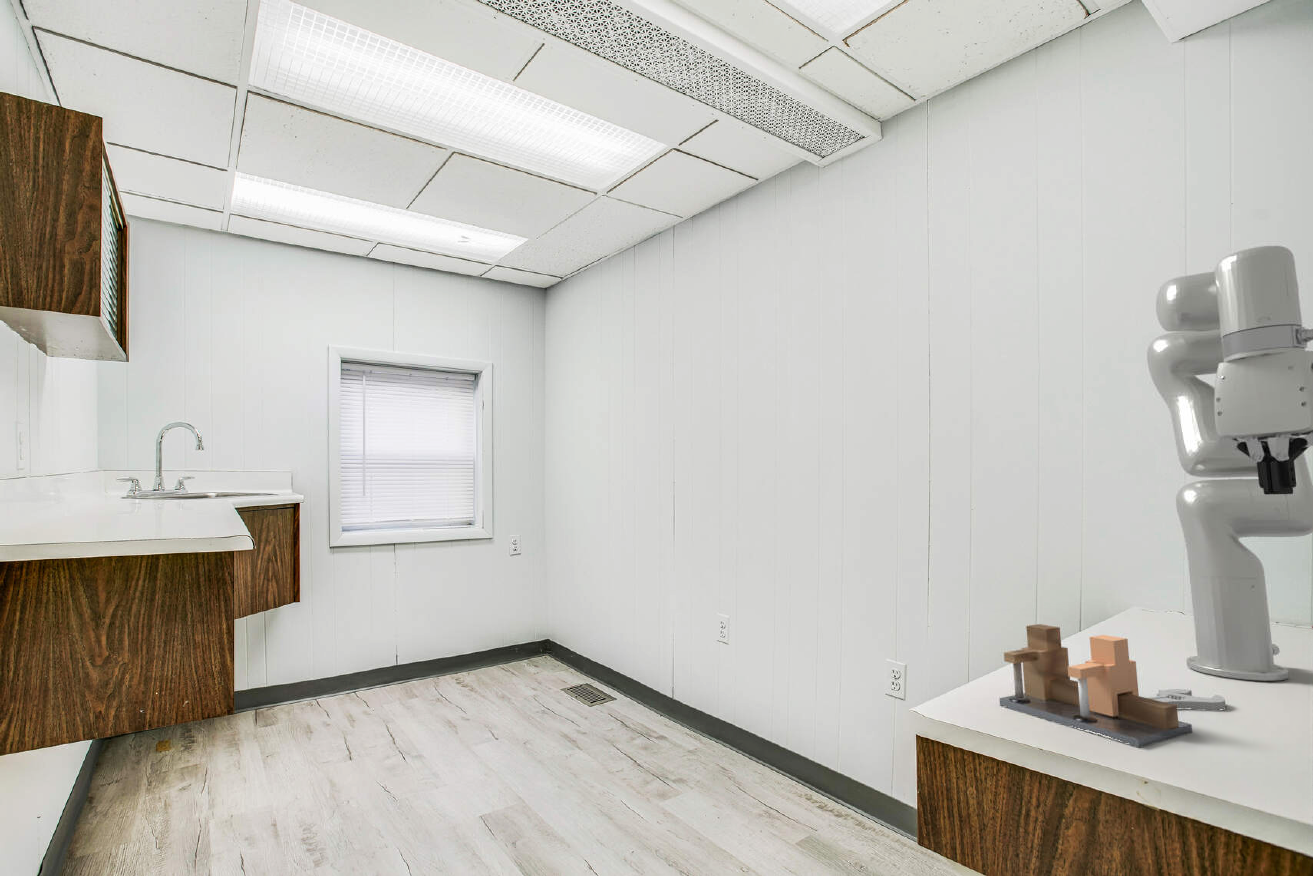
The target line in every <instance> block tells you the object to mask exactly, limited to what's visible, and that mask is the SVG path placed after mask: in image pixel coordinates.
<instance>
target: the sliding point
mask: <svg viewBox="0 0 1313 876" xmlns="http://www.w3.org/2000/svg"><path fill="white" fill-rule="evenodd" d="M1089 646H1090V656H1091V657H1090V658H1091V659H1090V660H1085V661H1084V663H1081V664H1075V665H1069V666H1068V676H1069V677H1070V678H1073V679H1077V682H1078V689H1079V701H1080V714H1081V716H1082V717H1090V710H1091V711H1094V712H1098V713H1102V714H1105V715H1109V716H1113V717H1114V716H1118V715H1119V711H1118V699H1117V694H1120V693H1128V694H1132V695H1136V696H1140V694H1139V686H1138V685H1139V684H1138V674H1137V673H1138V672H1137V671H1138V670H1137V662H1136V660H1131V659H1130V654H1129V653H1130V652H1129V643H1128V638H1125V637H1120V636H1112V635H1107V634H1100V635H1093V636H1089Z"/></svg>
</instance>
